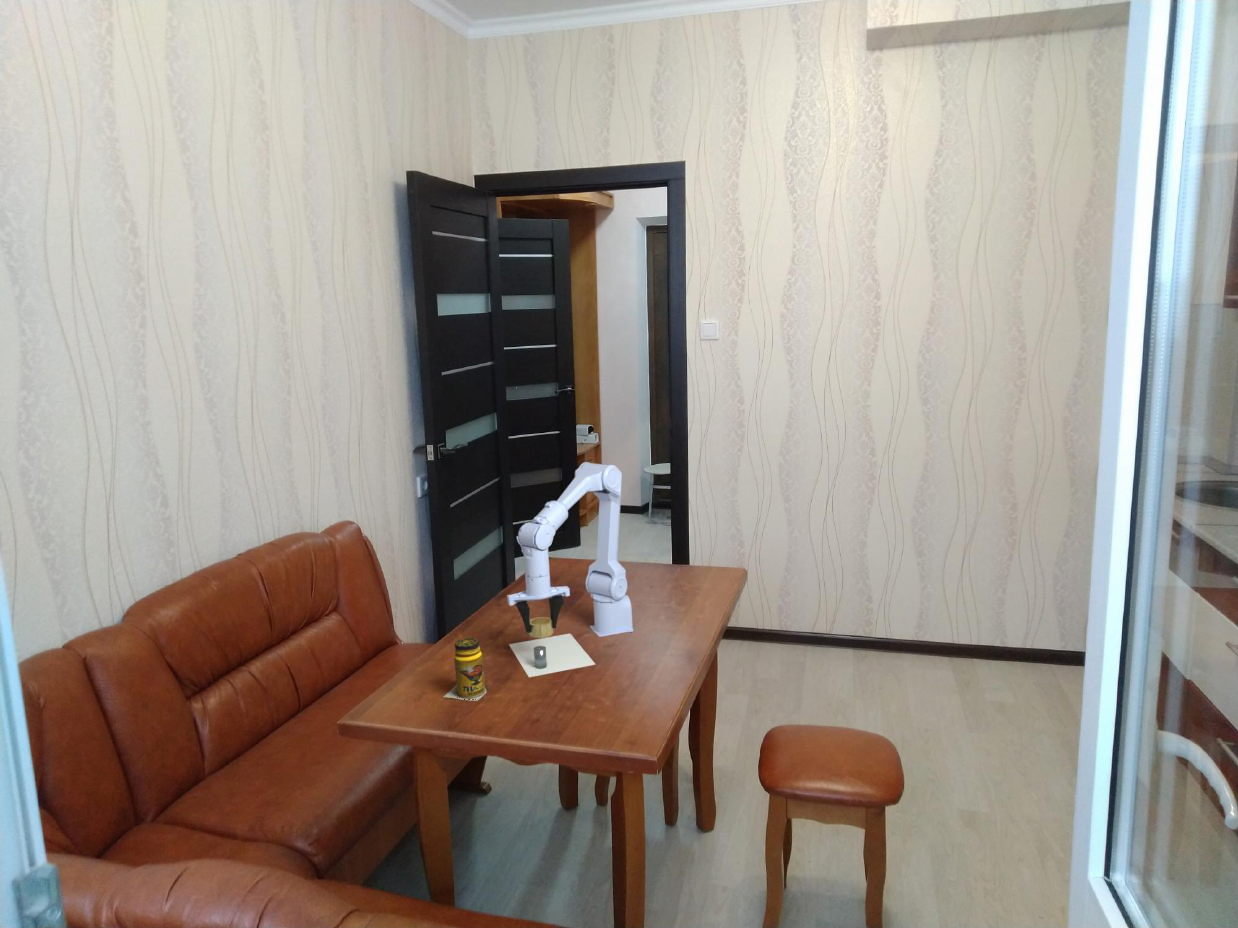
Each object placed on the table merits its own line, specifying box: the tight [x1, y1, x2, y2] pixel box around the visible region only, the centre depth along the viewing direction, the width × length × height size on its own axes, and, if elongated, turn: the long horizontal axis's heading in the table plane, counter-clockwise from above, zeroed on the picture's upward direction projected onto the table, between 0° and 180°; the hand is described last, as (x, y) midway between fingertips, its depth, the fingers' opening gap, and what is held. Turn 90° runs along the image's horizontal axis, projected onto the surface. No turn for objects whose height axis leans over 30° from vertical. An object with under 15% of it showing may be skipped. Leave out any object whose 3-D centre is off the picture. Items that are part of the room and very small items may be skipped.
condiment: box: [443, 637, 488, 702], centre depth 187 cm, size 7×8×12 cm
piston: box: [534, 646, 547, 669], centre depth 198 cm, size 3×3×4 cm
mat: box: [508, 633, 596, 678], centre depth 206 cm, size 16×21×1 cm
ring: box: [528, 616, 554, 639], centre depth 200 cm, size 6×6×3 cm
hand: (540, 629), depth 200 cm, fingers closed on ring, 6 cm apart
